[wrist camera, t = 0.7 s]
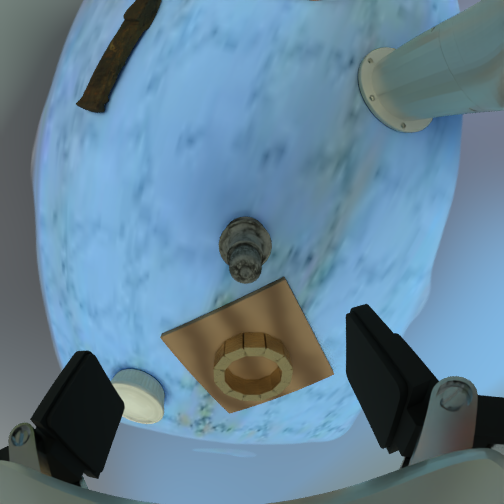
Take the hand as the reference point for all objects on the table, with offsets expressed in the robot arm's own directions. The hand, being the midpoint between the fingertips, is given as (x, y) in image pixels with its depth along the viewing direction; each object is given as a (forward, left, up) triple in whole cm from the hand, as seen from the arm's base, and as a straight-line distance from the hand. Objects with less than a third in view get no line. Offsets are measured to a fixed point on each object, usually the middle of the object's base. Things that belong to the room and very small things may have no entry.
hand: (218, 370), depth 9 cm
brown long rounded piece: (+2, -28, -26) cm, 38 cm away
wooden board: (+8, +19, -25) cm, 33 cm away
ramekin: (+30, +17, -26) cm, 43 cm away
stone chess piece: (0, +2, -26) cm, 26 cm away
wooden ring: (+8, +19, -25) cm, 33 cm away
